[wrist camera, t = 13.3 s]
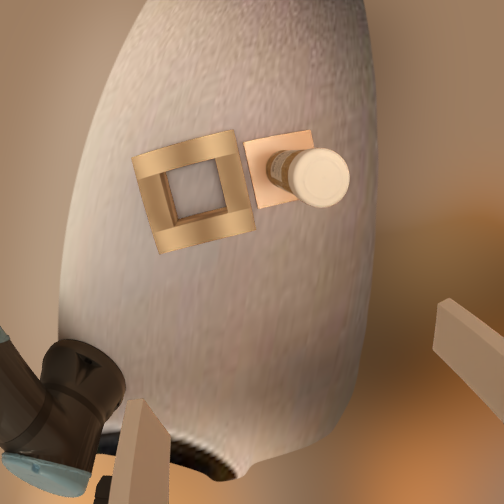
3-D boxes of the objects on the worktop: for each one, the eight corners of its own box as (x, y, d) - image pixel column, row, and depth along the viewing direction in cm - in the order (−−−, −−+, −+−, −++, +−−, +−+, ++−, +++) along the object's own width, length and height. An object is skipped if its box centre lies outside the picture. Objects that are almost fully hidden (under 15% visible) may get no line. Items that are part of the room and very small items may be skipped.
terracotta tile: (257, 207, 36) (258, 208, 35) (242, 142, 33) (243, 142, 32) (320, 193, 36) (322, 194, 35) (308, 130, 33) (310, 129, 32)
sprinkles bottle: (282, 195, 35) (318, 221, 22) (256, 166, 33) (280, 174, 21) (310, 170, 34) (362, 183, 21) (286, 141, 33) (327, 135, 20)
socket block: (164, 243, 36) (159, 254, 32) (140, 156, 32) (131, 157, 28) (252, 221, 36) (256, 229, 32) (231, 132, 32) (233, 129, 29)
